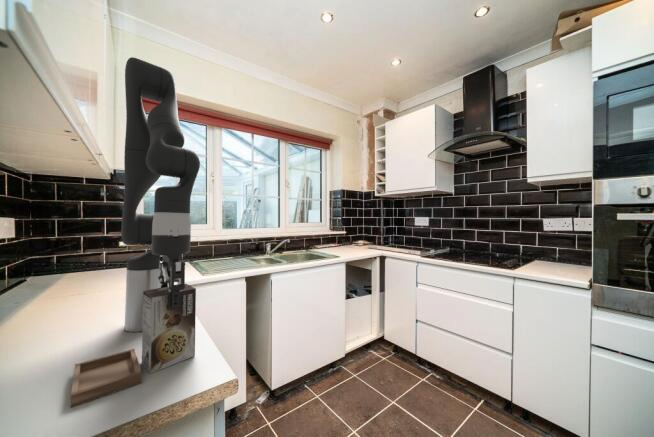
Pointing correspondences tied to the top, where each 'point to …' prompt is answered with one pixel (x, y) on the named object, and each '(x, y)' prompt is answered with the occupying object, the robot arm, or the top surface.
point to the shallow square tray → (105, 376)
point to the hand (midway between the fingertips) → (169, 304)
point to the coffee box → (167, 328)
